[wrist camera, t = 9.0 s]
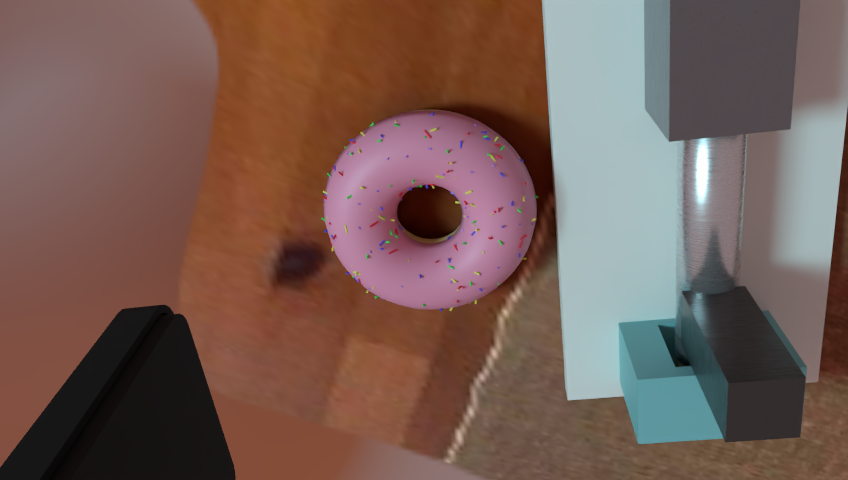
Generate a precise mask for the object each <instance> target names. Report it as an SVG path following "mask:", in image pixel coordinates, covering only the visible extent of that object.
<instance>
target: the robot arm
mask: <svg viewBox="0 0 848 480" xmlns="http://www.w3.org/2000/svg"><path fill="white" fill-rule="evenodd" d="M0 480H235V470H234V465H233V462H232V459H231V456H230V452H229V449H228V446H227V443H226V440H225V437H224V434H223V431H222V428H221V424H220V421H219V418H218V415H217V412H216V409H215V406H214V403H213V400H212V397H211V394H210V390H209V387H208V384H207V381H206V378H205V375H204V372H203V369H202V366H201V362H200V359H199V356H198V353H197V350H196V347H195V344H194V341H193V338H192V335H191V331H190V328H189V325H188V323H187V320H186V319H185V317H184V316H183V315H181V314H174V313H173V312H172V310H171V309H170V307H168V306H166V305H157V306H147V307H137V308H128V309H122V310H121V311H120V312H119V313H118V314H117V315H116V317H115V318H114V319H113V320H112V322H111V323H110V324H109V326H108V327H107V329H106V330H105V331H104V332H103V333H102V335H101V336H100V338H99V339H98V340H97V341H96V343H95V344H94V346H93V347H92V348H91V349H90V351H89V352H88V353H87V354H86V356H85V357H84V358H83V360H82V361H81V362H80V364H79V365H78V366H77V368H76V369H75V370H74V372H73V373H72V374H71V375H70V377H69V378H68V379H67V381H66V382H65V383H64V385H63V386H62V387H61V389H60V390H59V391H58V393H57V394H56V395H55V396H54V398H53V399H52V400H51V402H50V403H49V404H48V406H47V407H46V408H45V410H44V411H43V412H42V414H41V415H40V416H39V417H38V419H37V420H36V421H35V423H34V424H33V425H32V427H31V428H30V429H29V431H28V432H27V433H26V435H25V436H24V437H23V438H22V440H21V441H20V442H19V444H18V445H17V446H16V448H15V449H14V450H13V451H12V453H11V454H10V456H9V457H8V458H7V460H6V461H5V462H4V464H3V465H2V466H1V467H0Z"/></svg>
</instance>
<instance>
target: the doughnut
mask: <svg viewBox="0 0 848 480" xmlns="http://www.w3.org/2000/svg"><path fill="white" fill-rule="evenodd" d="M523 162H524V160H522V159H521V158H520V156H519V155H518V154H517V152H516V151H515V150H514V148H513V147H512V146H511V145H510V144H509V143H508V142H507V141H506V140H505V139H504V138H502V137H501V136H500V135H499V134H497V133H496V132H495V131H493V130H492V129H490V128H489V127H487V126H486V125H484V124H483V123H481V122H479V121H477V120H476V119H473V118H470V117H468V116H465V115H462V114H459V113H455V112H450V111H444V110H415V111H409V112H404V113H400V114H397V115H394V116H391V117H388V118H385V119H382V120H380V121H378V122H376V123H374V122H373V123H372V124H371V125H370V126H369V127H368V128H367V129H365V130H364V131H363V132H362V131H361V132H360V134H359V135H358V136H357V137H356V138H354V139H351V140H350V143H349V144H348V145H347V146H346V147H345V149H344V150H343V151H342V152H341V154H340V155H339V157H338V158H337V160H336V162H335V164H334V166H333V167H332V170H331V173H330V174H329V173H327V175H328V176H329V178H328V181H327V185H326V190H325V191H323V193H324V194H325V196H324V195H323V196H322V197H323V198H324V218H325V219H324V218H323V217H322V220H324V221H325V223H326V227H327V229H326V230H325V231H324V232H327V231H328V234H329V237H330V240H331V244H330V246H333V247H332V251H335V253H336V255H337V256H338V258H339V260H340V261H341V263H342V264H343V266H344V267H345V268H346V269H347V270H348V272H347V273H346V274H349V275H350V274H351V275H352V277H353V278H355V279H356V281H357V282H359V283H360V284H362V285H363V286H364V287H365V288H366V289H368V290H367V291H366V293H368V292H369V291H371V292H372V293H374V294H375V295H377V296H376V297H375V298H378V297H381V299H385V300H387V301H390V302H393V303H396V304H399V305H403V306H406V307H411V308H416V309H440V311H442V309H445V308H451V309H450V311H452V309H453V307H457V306H461V305H464V304H467V303H470V302H473V301H475V304H477V299H479V298H481V297H483V296H485V295H487V294H488V293H490V292H491V291H492V290H494V289H497V287H498V286H499V285H500V284H501V283H503V282H504V281H505V280H506V279H507V278H508V277H509V276H510V275H511V274H512V273H513V272H514V270H515V269H516V268H517V267H518V265H519V264H520V262H521V261H522V260H526V258H523V257H524V256H525V254H526V252H527V250H528V247H529V245H530V242H531V239H532V235H533V231H534V227H535V223H536V220H537V218H536V215H537V205H536V198H538V196H536V195H535V190H534V186H533V183H532V180H531V177H530V175H529V172H528V170H527V168H526V166H525V164H524V163H523ZM422 185H425V186H426V188H428V185H431V186H432V188H435V187H434V185H436V186H440V187H443V188H445V189H447V190H449V191H450V193H451V194H453V195H454V196H456V197H457V199H458V201H455V203H459V204H460V205H461V209H462V220H461V223H460V225H459V227H458V228H457V229H456V230H455V231H454V232H452V233H451V234H449V235H447V236H445V237H442V238H437V239H425V238H421V237H417V236H415V235H413V234H411V233H410V232H408V231H407V230H406V229H405V228H404V227H403V226H402V225H401V224H400V222H399V220H398V217H397V209H398V205H399V202H400V201H402V199H403V198H404V194H405V193H406V192H408V191H409V190H410V191H411V190H412V188H414V187H422Z"/></svg>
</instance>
